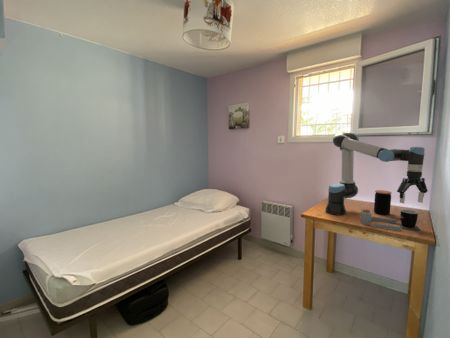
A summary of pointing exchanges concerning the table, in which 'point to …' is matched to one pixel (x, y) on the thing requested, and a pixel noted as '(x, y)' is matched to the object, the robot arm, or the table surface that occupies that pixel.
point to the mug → (409, 218)
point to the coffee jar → (382, 202)
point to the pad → (410, 228)
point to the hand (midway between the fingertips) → (411, 202)
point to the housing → (367, 219)
